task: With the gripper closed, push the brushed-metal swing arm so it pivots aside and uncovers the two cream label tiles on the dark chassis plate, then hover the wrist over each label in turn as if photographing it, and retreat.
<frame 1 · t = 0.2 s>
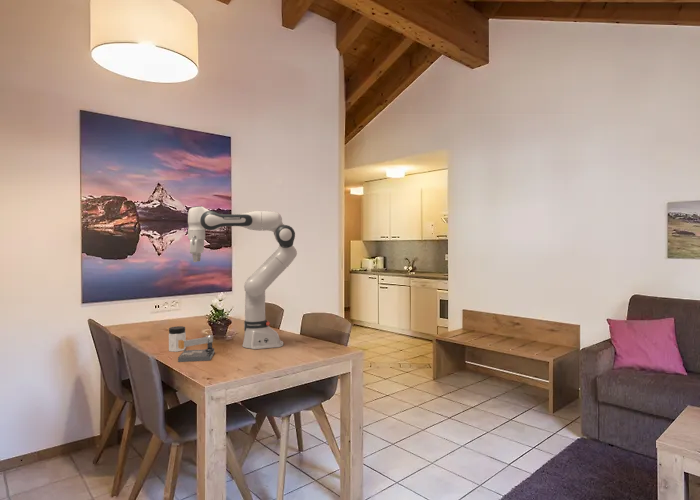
hand: (196, 261, 239), 47 cm above the table, fingers open, 8 cm apart
jar: (177, 350, 237), on the table
chassis plate: (197, 357, 221), on the table
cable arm: (196, 341, 222), point 8 cm above the table, hinge at 0.0°
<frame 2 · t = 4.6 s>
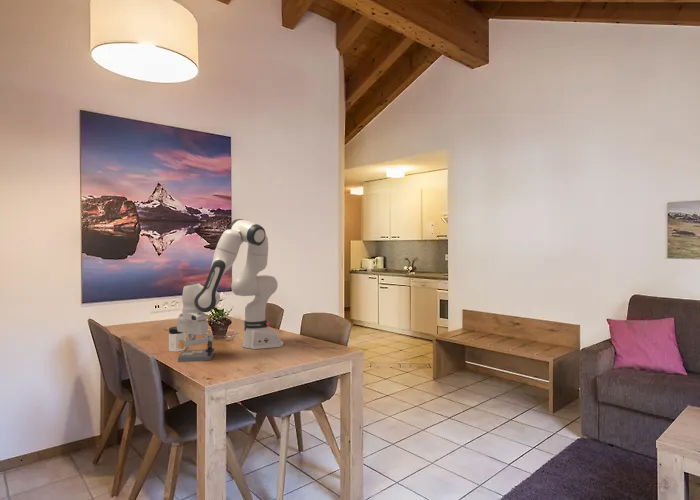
hand: (192, 342, 223), 7 cm above the table, fingers closed
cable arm: (196, 341, 222), point 8 cm above the table, hinge at 0.1°, touching gripper
everything else where it was.
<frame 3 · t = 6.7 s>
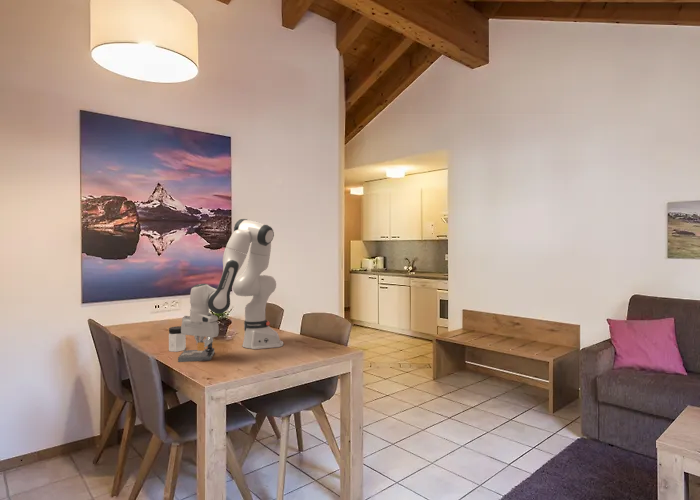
hand: (199, 344, 217), 7 cm above the table, fingers closed
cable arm: (205, 342, 220), point 8 cm above the table, hinge at 47.2°, touching gripper
everything else where it was.
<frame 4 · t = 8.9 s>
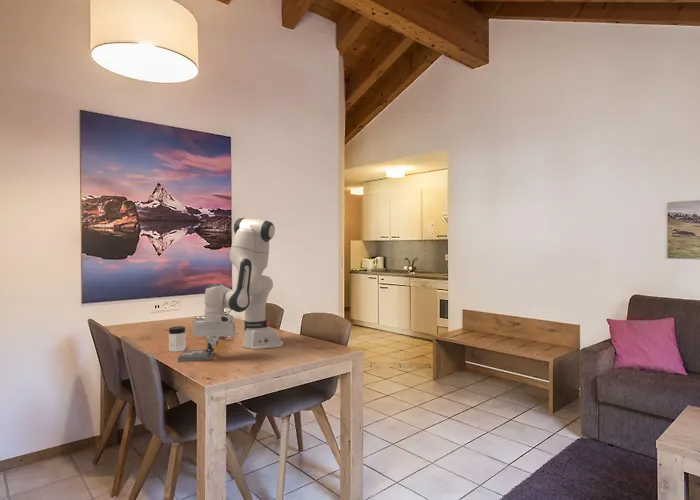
hand: (214, 345, 216), 7 cm above the table, fingers closed
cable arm: (214, 341, 222), point 8 cm above the table, hinge at 82.1°, touching gripper
everything else where it was.
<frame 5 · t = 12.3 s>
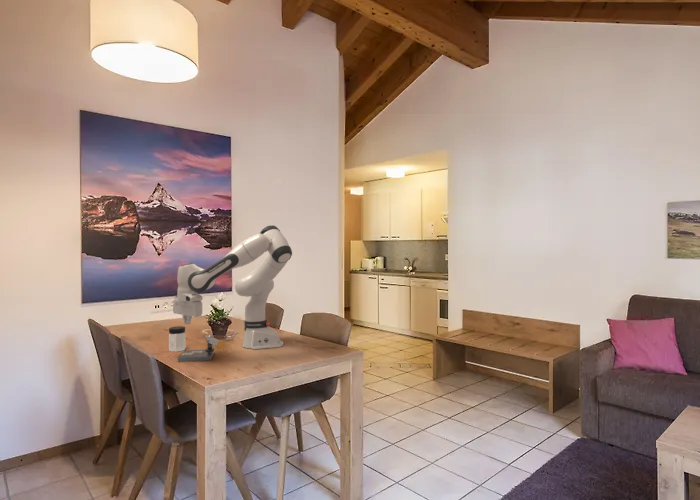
hand: (187, 324, 219), 17 cm above the table, fingers closed
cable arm: (214, 341, 222), point 8 cm above the table, hinge at 82.2°
everything else where it was.
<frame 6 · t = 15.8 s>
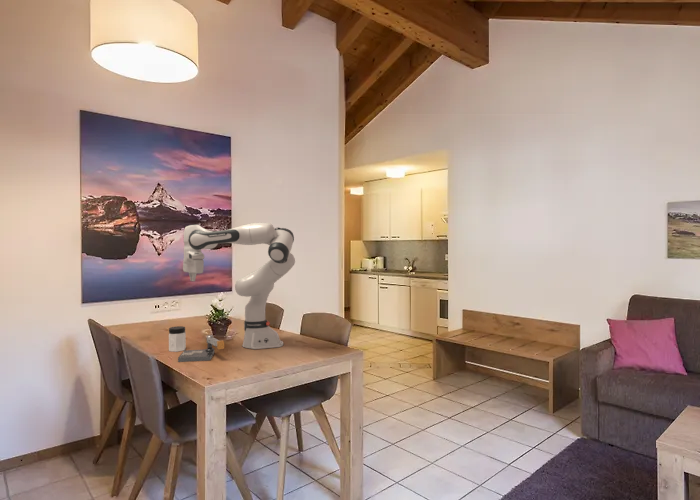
hand: (192, 281, 234), 37 cm above the table, fingers closed
nothing on the table moved.
at the end: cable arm at +82° (first picture: +0°) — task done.
